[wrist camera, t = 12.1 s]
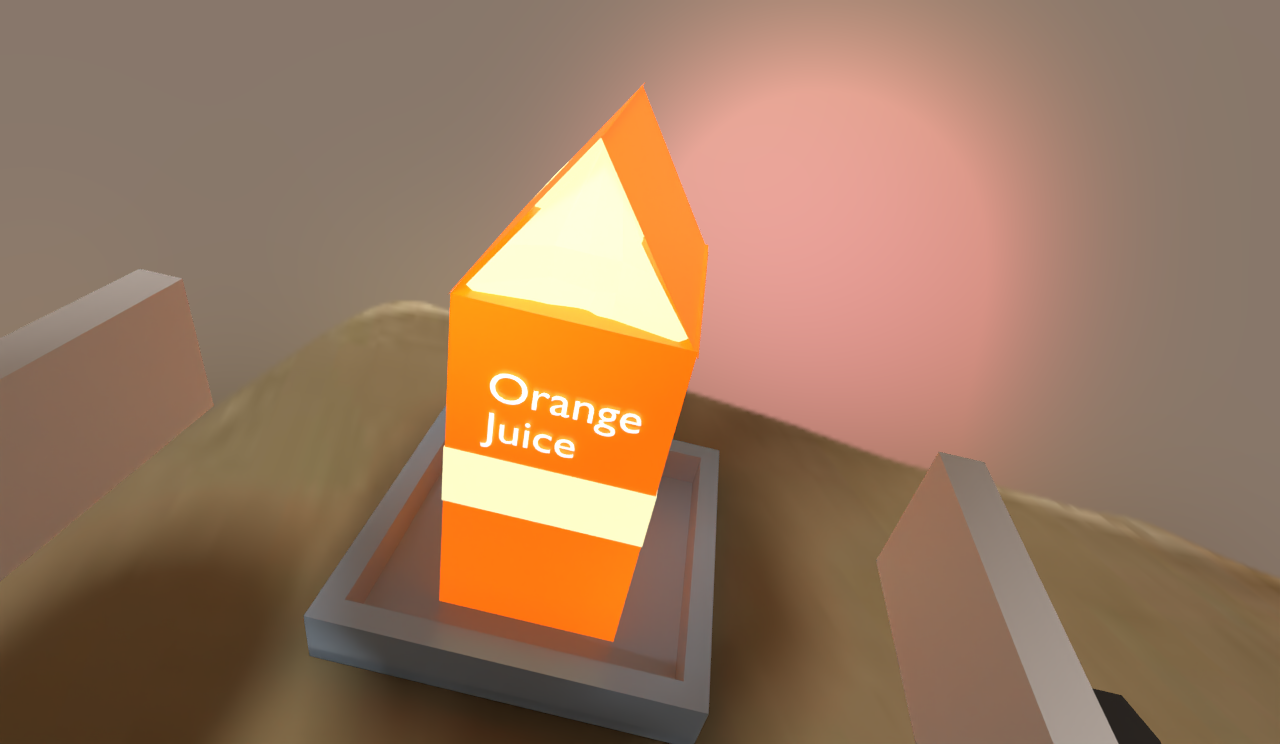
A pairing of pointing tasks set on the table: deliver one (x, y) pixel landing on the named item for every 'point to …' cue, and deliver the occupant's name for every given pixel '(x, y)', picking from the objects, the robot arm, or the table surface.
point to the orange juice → (570, 384)
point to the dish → (524, 651)
